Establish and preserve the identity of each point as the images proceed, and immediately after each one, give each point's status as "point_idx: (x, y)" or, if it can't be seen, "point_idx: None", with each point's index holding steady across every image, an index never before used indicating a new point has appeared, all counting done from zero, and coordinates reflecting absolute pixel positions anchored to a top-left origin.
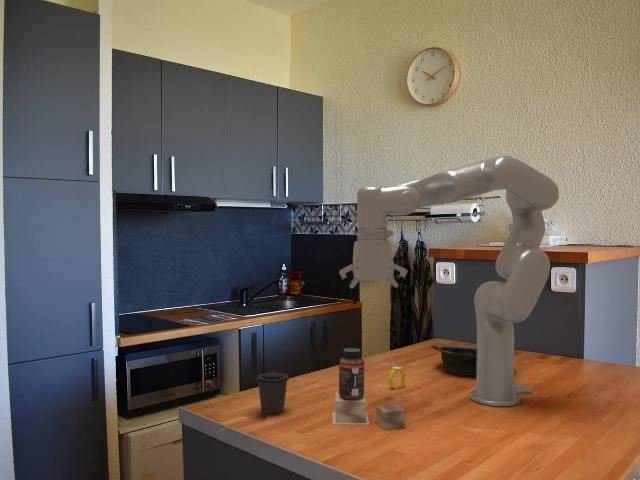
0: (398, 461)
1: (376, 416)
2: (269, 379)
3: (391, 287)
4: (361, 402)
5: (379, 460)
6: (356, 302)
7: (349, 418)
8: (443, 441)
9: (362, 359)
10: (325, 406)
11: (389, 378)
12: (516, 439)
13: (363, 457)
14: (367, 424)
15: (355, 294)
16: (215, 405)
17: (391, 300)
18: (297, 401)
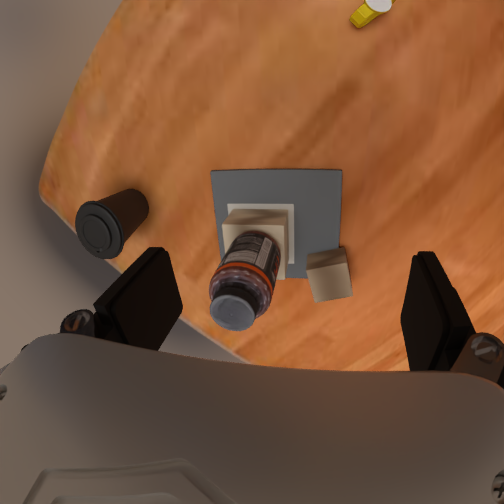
0: (319, 356)
1: (307, 260)
2: (100, 254)
3: (433, 365)
4: (276, 278)
5: (298, 353)
6: (180, 313)
7: None
8: (394, 309)
9: (264, 303)
10: (209, 155)
11: (354, 20)
12: (483, 299)
13: (280, 347)
14: (291, 263)
15: (155, 348)
16: (58, 178)
17: (406, 311)
18: (154, 133)
